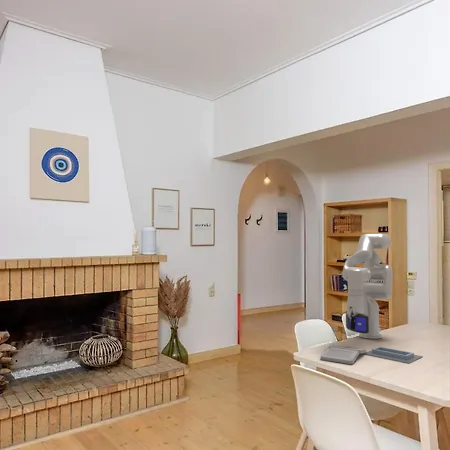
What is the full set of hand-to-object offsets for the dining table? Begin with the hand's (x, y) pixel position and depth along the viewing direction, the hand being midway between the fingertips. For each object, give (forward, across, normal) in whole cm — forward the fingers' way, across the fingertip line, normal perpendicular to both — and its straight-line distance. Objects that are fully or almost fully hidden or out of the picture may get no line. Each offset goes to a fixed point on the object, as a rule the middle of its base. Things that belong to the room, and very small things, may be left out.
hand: (356, 327), depth 213 cm
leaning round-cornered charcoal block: (+2, -1, 0) cm, 2 cm away
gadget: (+10, +20, +4) cm, 23 cm away
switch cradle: (+10, +1, +19) cm, 22 cm away
